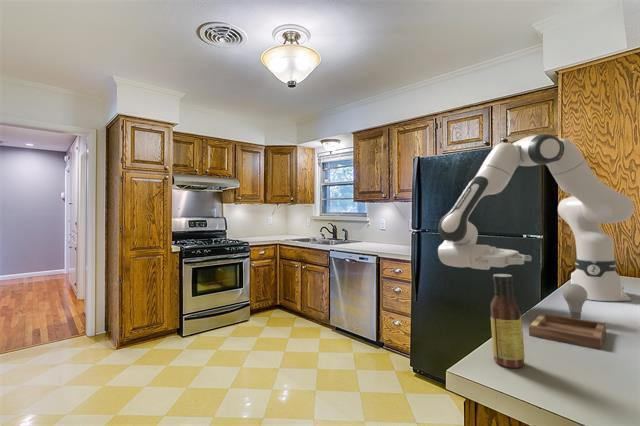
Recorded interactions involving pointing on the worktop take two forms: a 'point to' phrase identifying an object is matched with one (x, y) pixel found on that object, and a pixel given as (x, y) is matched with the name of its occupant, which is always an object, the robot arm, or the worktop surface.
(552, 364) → the worktop surface
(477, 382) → the worktop surface
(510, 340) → the sauce bottle
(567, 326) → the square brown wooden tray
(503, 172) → the robot arm
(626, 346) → the worktop surface
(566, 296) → the lightbulb
